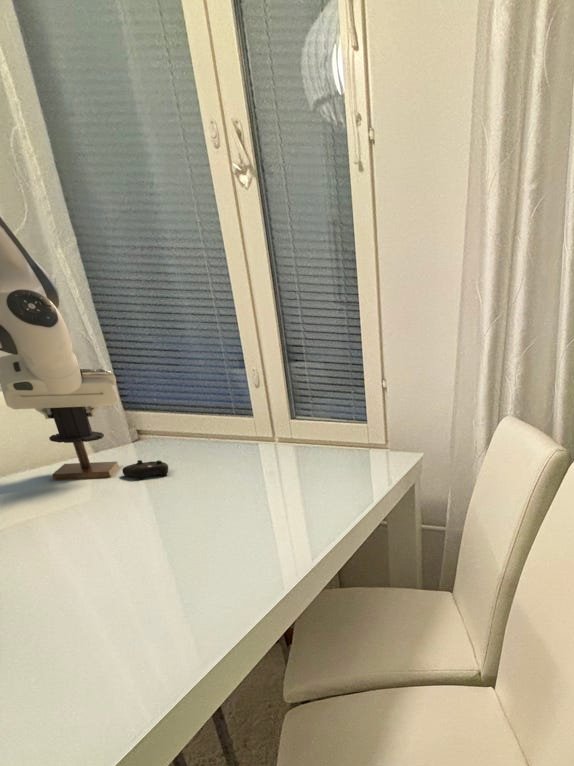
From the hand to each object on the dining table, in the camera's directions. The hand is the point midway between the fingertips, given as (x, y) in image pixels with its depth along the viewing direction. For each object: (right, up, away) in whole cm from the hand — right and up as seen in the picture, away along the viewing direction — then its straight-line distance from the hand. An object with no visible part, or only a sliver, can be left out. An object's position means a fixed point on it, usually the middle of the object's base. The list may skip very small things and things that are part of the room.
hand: (70, 415), depth 123 cm
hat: (0, -4, +2) cm, 5 cm away
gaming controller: (+14, -12, +6) cm, 20 cm away
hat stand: (0, -12, +6) cm, 13 cm away
